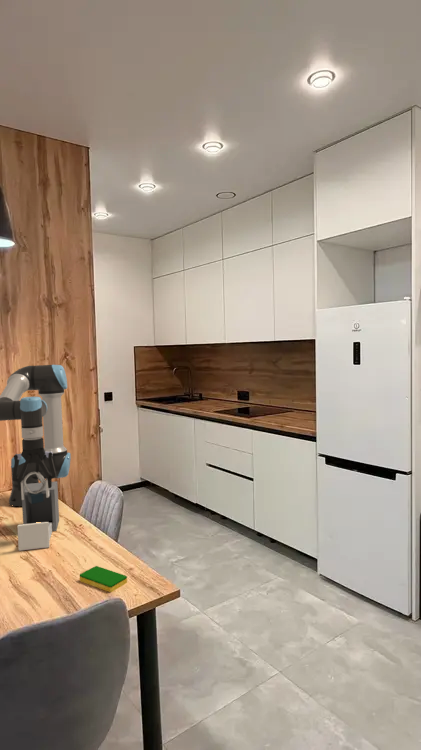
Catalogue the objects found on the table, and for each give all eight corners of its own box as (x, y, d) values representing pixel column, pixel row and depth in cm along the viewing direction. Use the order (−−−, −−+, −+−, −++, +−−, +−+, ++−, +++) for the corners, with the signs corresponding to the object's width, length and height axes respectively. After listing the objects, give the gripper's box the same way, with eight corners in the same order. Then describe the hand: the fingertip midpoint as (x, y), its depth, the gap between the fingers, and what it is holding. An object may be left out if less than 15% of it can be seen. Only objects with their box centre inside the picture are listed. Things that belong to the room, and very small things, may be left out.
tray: (26, 533, 185) (25, 510, 185) (53, 530, 188) (52, 508, 187) (18, 550, 169) (17, 526, 169) (49, 547, 172) (48, 522, 171)
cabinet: (28, 523, 197) (26, 483, 196) (59, 520, 199) (57, 481, 198) (23, 534, 185) (21, 492, 184) (56, 530, 188) (54, 489, 187)
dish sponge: (96, 572, 153) (96, 565, 153) (127, 583, 145) (127, 575, 145) (79, 582, 147) (78, 574, 147) (110, 593, 139) (110, 585, 139)
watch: (48, 500, 179) (47, 471, 178) (26, 505, 174) (25, 475, 174) (44, 496, 184) (43, 468, 183) (22, 501, 179) (21, 472, 178)
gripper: (0, 441, 172) (4, 503, 173) (60, 437, 176) (63, 497, 178) (4, 438, 179) (8, 497, 180) (62, 434, 184) (65, 492, 185)
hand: (35, 497), depth 179 cm, fingers closed on watch, 8 cm apart
